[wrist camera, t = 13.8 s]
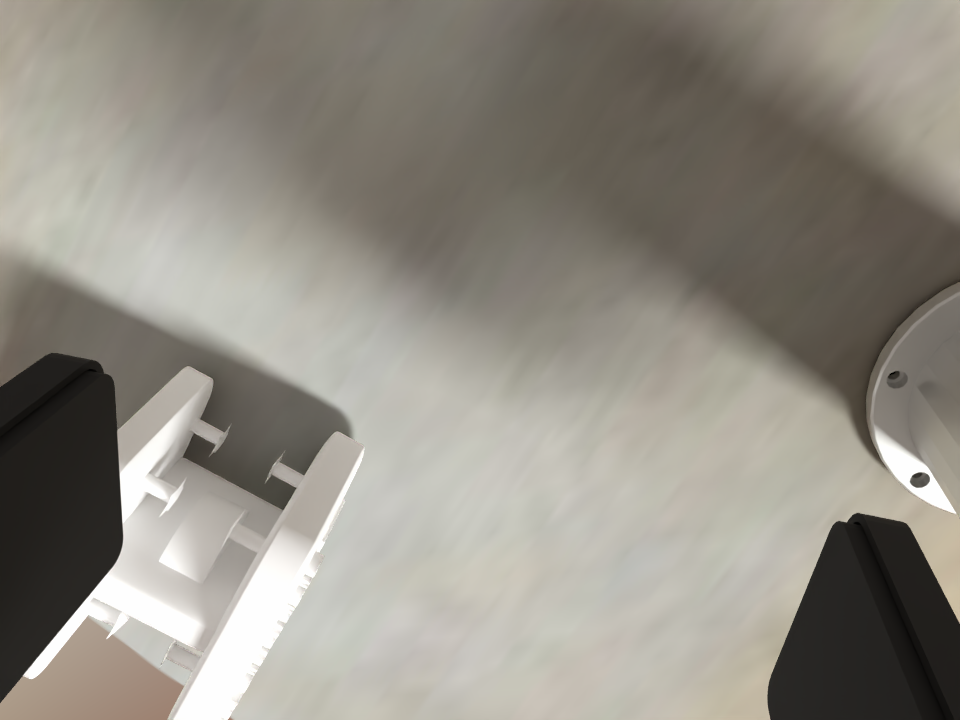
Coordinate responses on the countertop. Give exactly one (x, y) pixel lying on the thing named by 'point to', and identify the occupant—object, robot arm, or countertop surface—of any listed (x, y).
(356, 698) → the countertop surface
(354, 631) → the countertop surface
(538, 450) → the countertop surface
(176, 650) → the cable organizer
